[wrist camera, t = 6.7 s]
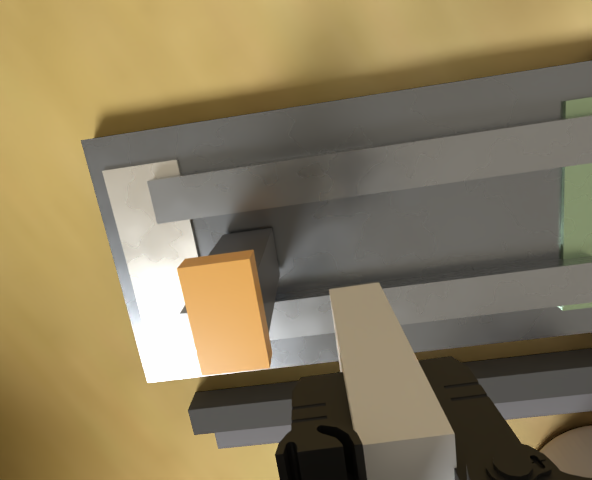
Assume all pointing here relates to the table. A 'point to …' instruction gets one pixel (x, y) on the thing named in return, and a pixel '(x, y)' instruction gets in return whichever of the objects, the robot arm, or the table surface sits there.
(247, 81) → the table surface
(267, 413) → the long dark grey rail
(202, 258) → the lever
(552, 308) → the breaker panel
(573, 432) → the coffee cup
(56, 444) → the table surface
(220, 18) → the table surface
